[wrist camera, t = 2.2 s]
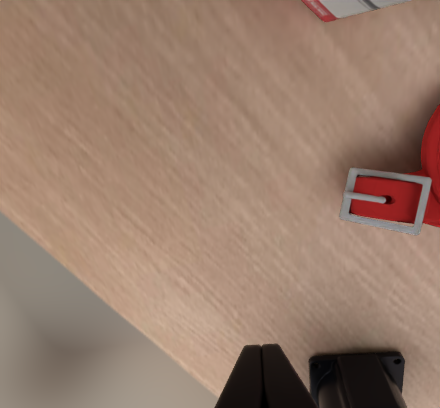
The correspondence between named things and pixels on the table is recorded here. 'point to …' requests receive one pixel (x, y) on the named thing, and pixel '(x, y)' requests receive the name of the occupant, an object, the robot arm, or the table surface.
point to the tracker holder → (398, 190)
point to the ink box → (346, 7)
